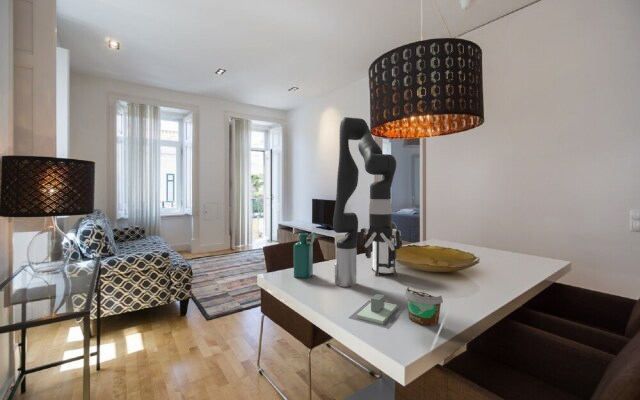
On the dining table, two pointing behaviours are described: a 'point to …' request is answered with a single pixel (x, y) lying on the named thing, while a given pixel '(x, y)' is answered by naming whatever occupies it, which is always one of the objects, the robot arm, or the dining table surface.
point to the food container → (423, 307)
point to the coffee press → (384, 256)
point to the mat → (385, 325)
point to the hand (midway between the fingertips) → (380, 259)
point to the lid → (377, 310)
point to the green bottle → (303, 256)
